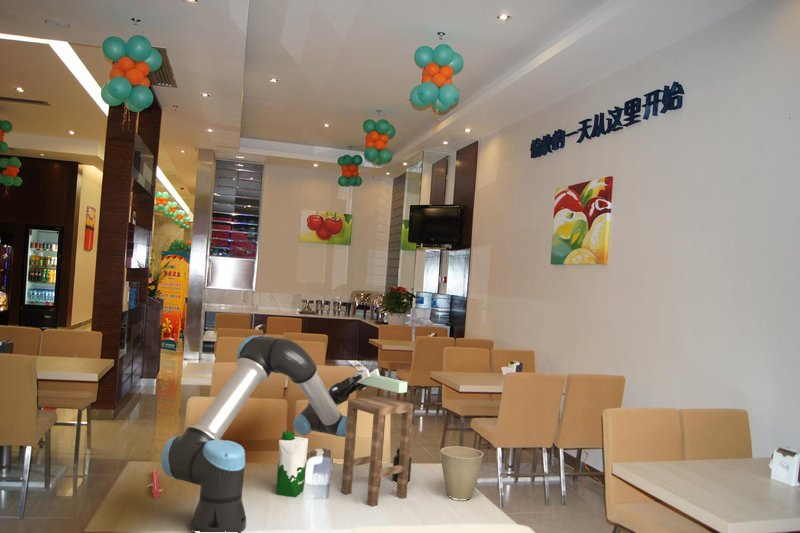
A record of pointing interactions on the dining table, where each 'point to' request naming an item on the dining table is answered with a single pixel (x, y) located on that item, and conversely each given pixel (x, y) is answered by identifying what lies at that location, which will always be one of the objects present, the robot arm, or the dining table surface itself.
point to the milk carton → (291, 464)
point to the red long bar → (155, 484)
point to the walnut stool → (377, 445)
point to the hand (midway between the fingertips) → (373, 372)
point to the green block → (384, 383)
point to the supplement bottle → (396, 462)
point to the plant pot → (460, 470)
